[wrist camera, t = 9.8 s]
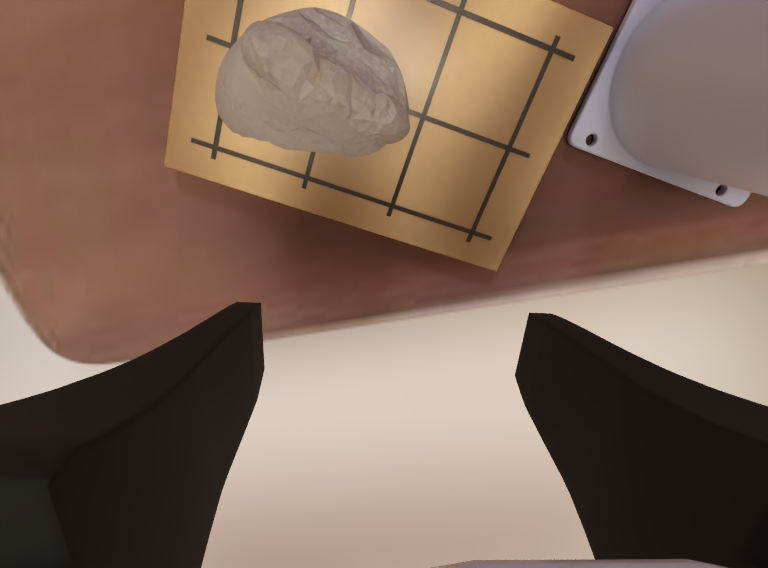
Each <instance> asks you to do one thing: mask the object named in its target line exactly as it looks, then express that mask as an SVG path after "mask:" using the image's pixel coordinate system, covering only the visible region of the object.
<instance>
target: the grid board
mask: <svg viewBox="0 0 768 568" xmlns="http://www.w3.org/2000/svg"><path fill="white" fill-rule="evenodd" d="M308 7H317V8H322V9H326V10H329V11H332V12H335V13H338V14H341V15H343V16H345V17H347V18H349V19H351V20H353V21H354V22H355V23H356V24H358V25H359V26H360V27H362V28H363V29H364V30H366V31H367V32H368V33H370V34H371V35H372V36H373V37H374V38H375V39H377V40H378V41H379V42H381V43H382V44H383V45H384V46H386V47H387V48H388V49H389V51H390V52H391V54H392V56H393V58H394V59H395V61H396V63H397V65H398V67H399V69H400V71H401V74H402V76H403V80H404V84H405V88H406V92H407V98H408V104H409V121H410V130H409V134H408V135H407V136H406V137H405V138H404V139H402V140H401V141H399V142H396V143H393V144H386V145H385V146H383V147H382V148H381V149H380V150H379V151H377V152H375V153H372V154H369V155H363V156H358V157H349V156H346V155H342V154H336V153H322V152H309V151H297V150H285V149H283V148H280V147H278V146H275V145H273V144H272V143H270V142H269V141H258V140H256V139H254V138H249V137H244V138H243V137H242V136H240V135H239V134H237V133H233V132H232V131H231V130H230V129H229V128H228V127H227V126H226V124H225V123H224V122H223V120H222V119H221V118H220V116H219V114H218V111H217V107H216V102H215V86H216V80H217V75H218V71H219V67H220V65H221V63H222V61H223V58H224V56H225V54H226V53H227V52H228V50H229V49H230V48H231V47H232V45H233V44H234V43H235V42H236V41H237V40H238V39H239V38H240V37H241V36H242V35H243V33H244V32H245V30H246V29H247V28H248V27H249V25H250V24H252V23H254V22H256V21H258V20H259V21H262V20H265V19H267V18H269V17H272V16H275V15H278V14H281V13H284V12H288V11H292V10H296V9H301V8H308ZM612 31H613V27H611V26H609V25H607V24H604V23H602V22H600V21H598V20H595V19H593V18H591V17H588V16H586V15H584V14H582V13H579V12H577V11H575V10H572V9H570V8H568V7H565V6H563V5H561V4H559V3H556V2H554V1H552V0H185V5H184V12H183V20H182V28H181V36H180V44H179V51H178V59H177V67H176V75H175V83H174V90H173V98H172V106H171V114H170V121H169V129H168V137H167V145H166V153H165V160H164V166H165V167H168V168H171V169H174V170H178V171H181V172H184V173H187V174H190V175H193V176H197V177H200V178H203V179H206V180H209V181H212V182H215V183H219V184H222V185H225V186H228V187H231V188H234V189H238V190H241V191H244V192H247V193H250V194H253V195H256V196H260V197H263V198H266V199H269V200H272V201H275V202H279V203H282V204H285V205H288V206H291V207H294V208H297V209H301V210H304V211H307V212H310V213H313V214H316V215H320V216H323V217H326V218H329V219H332V220H335V221H338V222H342V223H345V224H348V225H351V226H354V227H357V228H361V229H364V230H367V231H370V232H373V233H376V234H379V235H383V236H386V237H389V238H392V239H395V240H398V241H402V242H405V243H408V244H411V245H414V246H417V247H420V248H424V249H427V250H430V251H433V252H436V253H439V254H443V255H446V256H449V257H452V258H455V259H458V260H461V261H465V262H468V263H471V264H474V265H477V266H480V267H484V268H487V269H490V270H493V271H497V269H498V267H499V265H500V263H501V261H502V259H503V257H504V255H505V253H506V251H507V249H508V247H509V245H510V243H511V240H512V238H513V236H514V234H515V232H516V230H517V228H518V226H519V224H520V222H521V220H522V218H523V216H524V213H525V211H526V209H527V207H528V205H529V203H530V201H531V199H532V197H533V195H534V193H535V191H536V189H537V186H538V184H539V182H540V180H541V178H542V176H543V174H544V172H545V170H546V168H547V166H548V164H549V162H550V159H551V157H552V155H553V153H554V151H555V149H556V147H557V145H558V143H559V141H560V139H561V137H562V135H563V132H564V130H565V128H566V126H567V124H568V122H569V120H570V118H571V116H572V114H573V112H574V110H575V108H576V105H577V103H578V101H579V99H580V97H581V95H582V93H583V91H584V89H585V87H586V85H587V83H588V81H589V79H590V76H591V74H592V72H593V70H594V68H595V66H596V64H597V62H598V60H599V58H600V56H601V54H602V52H603V49H604V47H605V45H606V43H607V41H608V39H609V37H610V35H611V33H612Z"/></svg>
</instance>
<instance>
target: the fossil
mask: <svg viewBox="0 0 768 568" xmlns="http://www.w3.org/2000/svg"><path fill="white" fill-rule="evenodd" d="M215 102H216V107H217V111H218V114H219V116H220V118H221V119H222V120H223V122H224V123H225V124H226V126H227V127H228V128H229V129H230V130H231V131H232V132H233V133H237V134H239V135H240V136H242V137H243V138H244V137H249V138H254V139H256V140H258V141H269V142H270V143H272V144H273V145H275V146H278V147H280V148H283V149H285V150H297V151H309V152H322V153H336V154H342V155H346V156H349V157H358V156H363V155H369V154H372V153H375V152H377V151H379V150H380V149H381V148H382V147H383V146H385V145H386V144H393V143H396V142H399V141H401V140H402V139H404V138H405V137H406V136H407V135H408V134H409V130H410V121H409V104H408V98H407V92H406V88H405V84H404V80H403V76H402V74H401V71H400V69H399V67H398V65H397V63H396V61H395V59H394V58H393V56H392V54H391V52H390V51H389V49H388V48H387V47H386V46H384V45H383V44H382V43H381V42H379V41H378V40H377V39H375V38H374V37H373V36H372V35H371V34H370V33H368V32H367V31H366V30H364V29H363V28H362V27H360V26H359V25H358V24H356V23H355V22H354V21H353V20H351V19H349V18H347V17H345V16H343V15H341V14H338V13H335V12H332V11H329V10H326V9H322V8H317V7H308V8H301V9H296V10H292V11H288V12H284V13H281V14H278V15H275V16H272V17H269V18H267V19H265V20H262V21H259V20H258V21H256V22H254V23H252V24H250V25H249V27H248V28H247V29H246V30H245V32H244V33H243V35H242V36H241V37H240V38H239V39H238V40H237V41H236V42H235V43H234V44H233V45H232V47H231V48H230V49H229V50H228V52H227V53H226V54H225V56H224V58H223V61H222V63H221V65H220V67H219V71H218V75H217V80H216V86H215Z"/></svg>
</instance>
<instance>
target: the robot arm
mask: <svg viewBox="0 0 768 568" xmlns="http://www.w3.org/2000/svg"><path fill="white" fill-rule="evenodd" d="M590 134H592V135H593V142H592V143H591V144H589V145H587V144H586V138H587V137H588V136H589V135H590ZM567 139H568V142H569V144H570V145H571V146H573V147H575V148H578V149H581V150H583V151H586V152H589V153H591V154H594V155H596V156H599V157H602V158H604V159H607V160H610V161H612V162H615V163H618V164H620V165H623V166H625V167H628V168H631V169H633V170H636V171H639V172H641V173H644V174H646V175H649V176H652V177H654V178H657V179H660V180H662V181H665V182H668V183H670V184H673V185H675V186H678V187H681V188H683V189H686V190H689V191H691V192H694V193H697V194H699V195H702V196H704V197H707V198H710V199H712V200H715V201H718V202H720V203H723V204H726V205H728V206H732V207H737V206H740V205H742V204H743V203H744V202H745V201H746V200H747V198H748V197H749V196H750V194H751V193H752V192H753V193H757V194H761V195H764V196H768V0H632V2H631V4H630V7H629V9H628V11H627V13H626V15H625V17H624V19H623V21H622V23H621V25H620V27H619V29H618V31H617V33H616V35H615V37H614V39H613V42H612V44H611V46H610V48H609V50H608V52H607V54H606V56H605V58H604V60H603V62H602V64H601V66H600V68H599V70H598V72H597V74H596V77H595V79H594V81H593V83H592V85H591V87H590V89H589V91H588V93H587V95H586V97H585V99H584V101H583V103H582V105H581V107H580V109H579V111H578V114H577V116H576V118H575V120H574V122H573V124H572V126H571V128H570V130H569V132H568V136H567ZM720 185H721V188H720V190H719V191H718V193H716V189H717V187H718V186H720ZM263 373H264V353H263V335H262V317H261V303H247V302H236V303H234V304H232V305H230V306H228V307H227V308H225V309H223V310H222V311H220V312H218V313H217V314H215V315H213V316H212V317H210V318H209V319H207V320H205V321H204V322H202V323H200V324H199V325H197V326H195V327H194V328H192V329H190V330H189V331H187V332H185V333H183V334H182V335H180V336H178V337H176V338H174V339H172V340H171V341H169V342H167V343H165V344H163V345H161V346H160V347H158V348H156V349H154V350H152V351H150V352H148V353H146V354H144V355H142V356H140V357H138V358H135V359H133V360H131V361H129V362H126V363H124V364H122V365H119V366H117V367H115V368H112V369H110V370H107V371H105V372H102V373H100V374H97V375H94V376H92V377H88V378H86V379H83V380H80V381H77V382H74V383H72V384H69V385H66V386H63V387H60V388H58V389H54V390H51V391H48V392H44V393H41V394H38V395H34V396H31V397H28V398H25V399H21V400H17V401H13V402H10V403H6V404H2V405H0V568H201V565H202V562H203V558H204V554H205V550H206V546H207V543H208V539H209V535H210V531H211V527H212V524H213V520H214V517H215V513H216V510H217V506H218V502H219V499H220V496H221V492H222V489H223V486H224V484H225V480H226V478H227V475H228V472H229V470H230V467H231V465H232V462H233V460H234V457H235V455H236V452H237V450H238V447H239V445H240V442H241V440H242V437H243V435H244V432H245V430H246V427H247V425H248V422H249V420H250V417H251V414H252V412H253V409H254V406H255V404H256V401H257V398H258V394H259V389H260V386H261V381H262V377H263ZM515 377H516V380H517V383H518V386H519V390H520V393H521V395H522V398H523V401H524V404H525V406H526V408H527V410H528V413H529V414H530V417H531V419H532V420H533V422H534V424H535V426H536V428H537V430H538V432H539V434H540V436H541V438H542V440H543V442H544V444H545V446H546V447H547V449H548V451H549V453H550V455H551V457H552V459H553V461H554V463H555V465H556V466H557V468H558V470H559V472H560V474H561V476H562V478H563V480H564V482H565V484H566V487H567V489H568V491H569V493H570V495H571V498H572V500H573V502H574V505H575V507H576V510H577V513H578V515H579V518H580V520H581V523H582V525H583V528H584V530H585V533H586V536H587V538H588V541H589V544H590V547H591V550H592V552H593V555H594V558H595V560H473V561H467V562H462V563H456V564H451V565H445V566H439V567H433V568H768V406H765V405H761V404H758V403H755V402H752V401H749V400H746V399H743V398H740V397H737V396H734V395H731V394H728V393H725V392H722V391H719V390H717V389H714V388H711V387H708V386H705V385H703V384H701V383H698V382H696V381H693V380H690V379H688V378H686V377H683V376H680V375H678V374H675V373H673V372H671V371H669V370H666V369H664V368H662V367H659V366H658V365H655V364H653V363H651V362H649V361H647V360H645V359H643V358H640V357H638V356H636V355H634V354H632V353H630V352H628V351H626V350H624V349H622V348H620V347H618V346H616V345H614V344H612V343H611V342H608V341H606V340H605V339H603V338H601V337H599V336H597V335H595V334H593V333H591V332H589V331H588V330H586V329H584V328H582V327H580V326H578V325H576V324H574V323H572V322H570V321H568V320H566V319H563V318H561V317H559V316H556V315H553V314H547V313H529V316H528V320H527V325H526V329H525V333H524V338H523V343H522V347H521V351H520V355H519V360H518V365H517V369H516V373H515Z"/></svg>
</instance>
